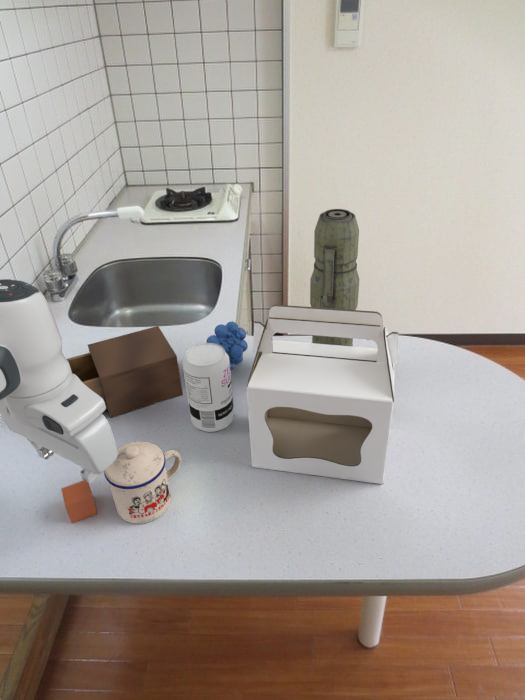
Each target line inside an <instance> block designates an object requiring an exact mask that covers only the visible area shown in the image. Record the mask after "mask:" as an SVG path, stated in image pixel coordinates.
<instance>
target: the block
mask: <svg viewBox="0 0 525 700" xmlns="http://www.w3.org/2000/svg"><path fill="white" fill-rule="evenodd" d="M61 493H62V498H63V503H64V508H65V510H66V512H67V516H68V518H69V520H70V523H71V524H74V523H77V522H79V521H83V520H84V519H87V518H90V517H92V516H95V515H98V510H97V506H96V502H95V498H94V495H93V492H92V489H91V486H90V483H88V482H86V481H85V480H83V479H82V480H81V481H78V482H74V483H72V484H69V485H66V486H63V487H61Z"/></svg>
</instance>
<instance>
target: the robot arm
mask: <svg viewBox="0 0 525 700" xmlns="http://www.w3.org/2000/svg"><path fill="white" fill-rule="evenodd" d="M67 359H68V358H66V356H65V355H64V353H63V340H62V335H61V333H60V330H59V328H58V324H57V321H56V319H55V316H54V314H53V311H52V309H51V307H50V305H49V303H48V301H47V299H46V297H45V296H44V294H43V293H42V292H41V290H39V289H38V288H37V287H36V286H34V285H33V284H30V283H28V282H25V281H23V280H17V279H10V278H8V279H7V278H5V279H4V278H1V279H0V417H1V420H2V422H3V424H4V425H5V426H6V427H7V429H9V430H10V431H13V432H14V433H15V434H18V435H19V436H21V437H23V438H25V439H26V440H27V441H28V442H29V444H30V445H31V446H32V447H33V449H35V451H36V454H37V456H38V457H39V458H42V459H44V460H48V459H50V457H52V456H53V455H55V454H56V455H58V456H60V457H62V458H64V459H66V460H68V461H69V462H71V463H74V464H75V465H77V466H79V467H80V468H82V470H80V472H79V474H80V477H81V479H82V481H83V480H85V481H86V482H88V483H89V484H92V483H93V482H95V481H96V480H97V479H98V478H99V475H100V474H102V473H104V471H105V470H106V469H107V468H108V467H109V466H110V465H111V464H112V463H113V462H114V461H115V460H116V458H117V449H118V447H117V444H116V440H115V436H114V433H113V429H112V427H111V424H110V422H109V420H108V419H107V417H106V416H105V415H104V414H103V413H104V412H105V411H106V410H105V409H106V405H105V402H104V400H103V399H102V398H101V397H100V396H99V395H97V394H96V393H95V392H93V391H92V390H91V389H89V388H88V387H87V386H86V385H85V384H84V383H83V382H82V381H81V380H80V379H79V378H78V377H77V376H76V375H75V374H72V371H71V368H70V364H69V362H68V361H67ZM54 453H55V454H54Z"/></svg>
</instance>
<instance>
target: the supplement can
mask: <svg viewBox="0 0 525 700" xmlns="http://www.w3.org/2000/svg"><path fill="white" fill-rule="evenodd" d="M182 371H183V377H184V385H185V390H186V396H187V404H188V409H189V410H188V411H189V416H190V422H191V424H192V425H193V427H194V428H196V429H198V430H199V431H200V430H201V431H203V432H207V433H208V432H209V433H214V432H219V431H222V430H224V429H226V428H227V427H229V426H230V425H231V424H232V423H233V421H234V419H235V417H236V416H235V407H234V394H233V385H232V384H233V383H232V375H231V374H232V373H231V371H230V361H229V356H228V355H227V353H226V352H225V350H224V349H223V347H222V346H220V345H218V344H214V343H206V342H201V343H198V344H195V345H193V346H191V347H189V348H188V349H187V350H186V352H185V353H184V357H183V360H182Z"/></svg>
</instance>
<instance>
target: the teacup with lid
mask: <svg viewBox="0 0 525 700" xmlns="http://www.w3.org/2000/svg"><path fill="white" fill-rule="evenodd" d="M173 457H174V462H173V464H172V466H171V467H170V469H168V470H167V467H166V463H167V460H168V459H170V458H173ZM181 465H182V455H181V454H180V452H178V451H177V450H175V449H170V450H166V451H165V452H164V451H163V450H162V449H161V448H160V447H159V446H158V445H157V444H154V443H152V442H148V441H132V442H129V443H126V444H124V445H121V446H119V447H117V458H116V460H115V461H114V462H113V463H112V464H111V465H110V466H109V467H108V468H107V469H106V470H105V471H103V475H104V478H105V479H106V481H107V482H108V485H109V488H110V492H111V495H112V499H113V502H114V505H115V509H116V511H117V514H118V516H119V517H120V518H121V519H122V520H124V521H126V522H128V523H131V524H147V523H150V522H153V521H155V520H156V519H158V518H160V517H161V516H162V515H163V514H165V512H166V511H167V510H168V508H169V507H170V505H171V501H172V491H171V487H170V482H169V480H170V479H171V478H172V477H173V476H175V475H176V474H177V472H178V471H179V469H180V467H181Z"/></svg>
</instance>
